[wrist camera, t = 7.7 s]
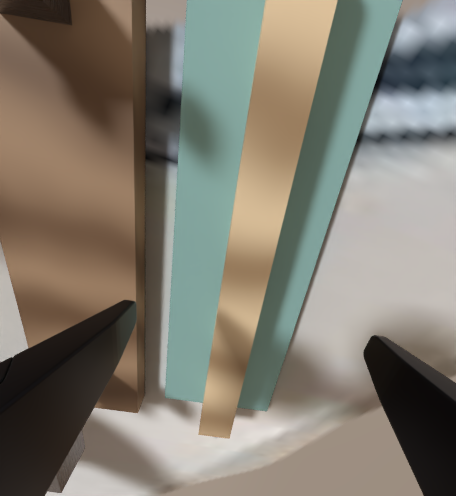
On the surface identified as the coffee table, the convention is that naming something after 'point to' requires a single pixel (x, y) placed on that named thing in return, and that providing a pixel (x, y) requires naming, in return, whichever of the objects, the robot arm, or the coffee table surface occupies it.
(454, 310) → the coffee table surface
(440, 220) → the coffee table surface
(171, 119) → the coffee table surface
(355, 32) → the teal mat
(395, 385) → the robot arm
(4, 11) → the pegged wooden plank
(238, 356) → the oak rail
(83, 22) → the walnut board
